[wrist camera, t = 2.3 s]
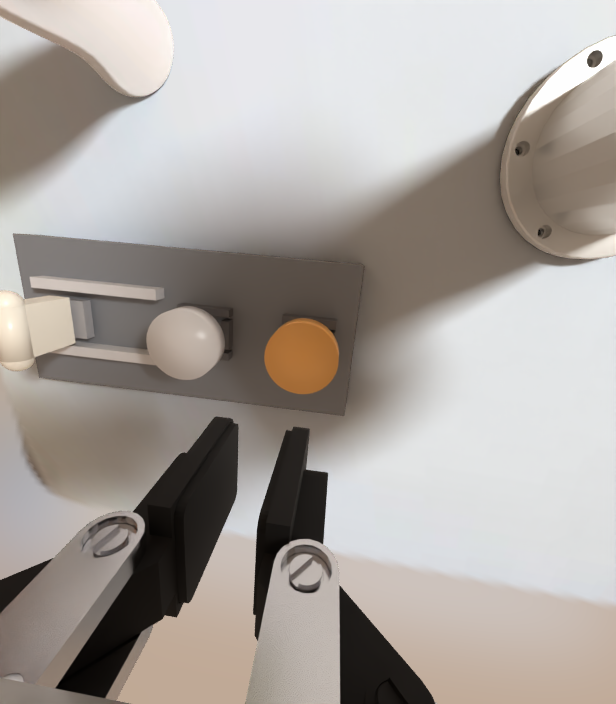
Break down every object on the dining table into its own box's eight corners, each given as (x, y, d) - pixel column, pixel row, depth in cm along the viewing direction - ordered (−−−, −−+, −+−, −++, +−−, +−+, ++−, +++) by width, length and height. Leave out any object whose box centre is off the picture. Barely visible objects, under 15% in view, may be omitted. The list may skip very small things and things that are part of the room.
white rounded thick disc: (229, 307, 23) (216, 314, 20) (229, 370, 24) (216, 383, 22) (165, 300, 23) (143, 306, 21) (168, 363, 25) (148, 375, 22)
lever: (88, 284, 25) (12, 294, 19) (96, 350, 27) (28, 377, 21) (52, 281, 25) (-34, 289, 20) (62, 346, 27) (-14, 372, 21)
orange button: (342, 319, 22) (342, 327, 20) (335, 383, 24) (334, 398, 21) (274, 312, 23) (266, 319, 20) (271, 375, 24) (262, 389, 22)
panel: (362, 264, 25) (365, 266, 22) (344, 404, 29) (344, 423, 25) (36, 234, 27) (-3, 232, 24) (58, 369, 31) (26, 382, 27)
